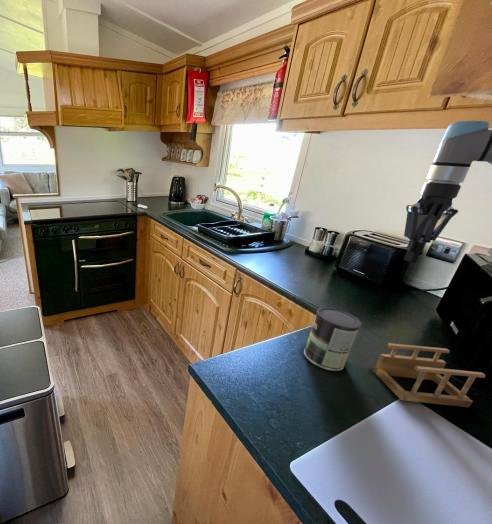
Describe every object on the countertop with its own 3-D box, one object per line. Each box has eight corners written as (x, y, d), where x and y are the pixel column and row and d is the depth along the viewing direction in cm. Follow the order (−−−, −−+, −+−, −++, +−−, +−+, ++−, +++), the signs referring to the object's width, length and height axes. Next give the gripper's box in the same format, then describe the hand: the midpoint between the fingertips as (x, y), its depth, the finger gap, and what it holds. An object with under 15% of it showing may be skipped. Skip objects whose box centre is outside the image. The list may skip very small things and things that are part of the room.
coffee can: (299, 359, 82) (313, 316, 77) (307, 343, 90) (320, 303, 85) (342, 377, 76) (360, 332, 71) (346, 358, 84) (363, 316, 79)
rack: (372, 371, 79) (385, 342, 76) (432, 377, 79) (448, 348, 75) (400, 400, 70) (416, 368, 67) (469, 407, 69) (488, 375, 66)
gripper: (454, 183, 84) (420, 258, 92) (408, 179, 84) (379, 255, 93) (481, 185, 77) (442, 267, 85) (431, 181, 77) (397, 263, 86)
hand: (409, 261), depth 89 cm, fingers closed
